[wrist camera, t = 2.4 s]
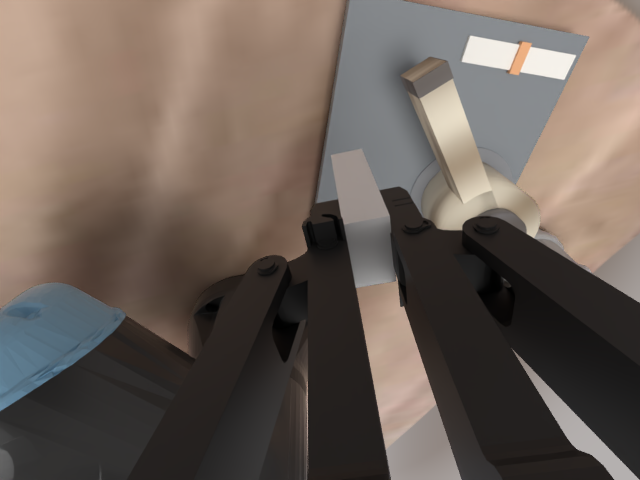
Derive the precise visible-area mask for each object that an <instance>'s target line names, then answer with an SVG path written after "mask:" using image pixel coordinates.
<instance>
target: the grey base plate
mask: <svg viewBox="0 0 640 480" xmlns="http://www.w3.org/2000/svg"><path fill="white" fill-rule="evenodd" d="M588 39H589V37H588V36H583V35H578V34H573V33H567V32H562V31H557V30H552V29H547V28H542V27H537V26H531V25H526V24H521V23H516V22H511V21H506V20H500V19H495V18H490V17H485V16H480V15H475V14H470V13H464V12H459V11H454V10H449V9H444V8H439V7H433V6H428V5H423V4H418V3H413V2H408V1H403V0H347V2H346V9H345V15H344V21H343V28H342V34H341V40H340V47H339V53H338V59H337V65H336V72H335V78H334V84H333V91H332V97H331V103H330V110H329V116H328V122H327V129H326V135H325V141H324V147H323V154H322V160H321V166H320V173H319V179H318V185H317V192H316V198H315V204H316V203H321V202H326V201H331V200H336V199H338V195H337V189H336V183H335V177H334V171H333V165H332V159H331V155H334V154H338V153H343V152H348V151H353V150H358V149H362V151H363V153H364V156H365V158H366V160H367V163H368V165H369V167H370V170H371V172H372V175H373V177H374V179H375V182H376V184H377V186H378V189H379V190H383V189H388V188H393V187H398V186H399V187H401V188H403V189H405V190H407V191H408V193H409V195H410V196H411V198H412V200H413V201H414V203H415V205H416V206H417V208H418V210H419V212H420V213H421V215H422V217H423V218H424V216H423V214H422V210H421V200H422V196H423V193H424V190H425V188H426V186H427V185H428V183H429V182H430V181H431V179H432V178H433V177H434V176H435V175H436V174H437V173H438V172H440V171H441V169H440V166H439V164H438V162H437V159H436V157H435V155H434V152H433V150H432V148H431V145H430V143H429V141H428V138H427V136H426V134H425V131H424V129H423V127H422V124H421V122H420V120H419V117H418V115H417V113H416V110H415V108H414V106H413V103H412V101H411V99H410V97H409V94H408V92H407V91H406V90H405V87H404V85H403V83H402V80H401V78H400V75H402V74H403V73H405V72H406V71H408V70H409V69H411V68H413V67H414V66H416V65H417V64H419V63H420V62H422V61H424V60H425V59H427V58H428V57H430V56H431V57H434V58H438V59H442V60H446V61H448V63H449V66H450V69H451V71H452V74H453V77H454V78H453V81H454V84H455V87H456V89H457V92H458V95H459V98H460V101H461V104H462V106H463V109H464V112H465V115H466V118H467V121H468V124H469V126H470V129H471V132H472V135H473V138H474V141H475V143H476V146H477V149H478V152H479V155H480V158H481V160H482V162H485V163H487V164H489V165H490V166H492V167H493V168H494V169H496V170H497V171H498V172H499V173H501V174H502V175H503V176H505V177H506V178H507V179H509V180H510V181H511V182H513V183H514V184H515V185H516V183H517V181H518V179H519V177H520V175H521V173H522V171H523V169H524V167H525V165H526V163H527V161H528V159H529V157H530V155H531V153H532V151H533V149H534V147H535V145H536V143H537V141H538V139H539V137H540V135H541V133H542V131H543V129H544V127H545V125H546V123H547V121H548V119H549V117H550V115H551V113H552V111H553V109H554V107H555V105H556V103H557V101H558V99H559V97H560V95H561V93H562V91H563V89H564V87H565V85H566V83H567V81H568V79H569V77H570V75H571V73H572V71H573V69H574V67H575V65H576V63H577V61H578V59H579V57H580V55H581V53H582V51H583V49H584V47H585V45H586V43H587V41H588ZM315 204H314V205H315Z"/></svg>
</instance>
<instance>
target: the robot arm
mask: <svg viewBox="0 0 640 480" xmlns="http://www.w3.org/2000/svg"><path fill="white" fill-rule="evenodd" d="M331 159H332V165H333V171H334V177H335V183H336V189H337V195H338V199H336V200H331V201H326V202H321V203H316V204H315V205H314V206H313V207H312V209H311V210H310V211H311V217H309V218H307V219H306V220H305V221H304V222H303V225H302V229H303V232H304V236H305V240H306V243H307V247H308V251H307V252H306V253H305V254H303V255H302V256H300V257H299V258H296V259H294V260H292V261H289V262H287V261H286V259H285V258H284V257H282V256H277V255H272V256H266V257H263V258H261V259H259V260H257V261H256V262H254V263H253V264H252V265H251V266H250V267H249V269H248V270H247V272H246V274H245V275H243V276H236V277H232V278H228V279H225V280H222V281H220V282H218V283H216V284H214V285H212V286H211V287H209V288H208V289H207V290H206V291H204V292H203V293H202V295H201V296H200V297H199V298H198V300H197V302H196V304H195V306H194V308H193V311H192V313H191V316H190V319H189V323H188V330H187V334H188V354H187V353H185V352H183V351H182V350H180V349H179V348H177V347H175V346H174V345H172V344H171V343H169V342H167V341H166V340H164V339H163V338H161V337H159V336H158V335H156V334H155V333H153V332H151V331H150V330H148V329H147V328H145V327H143V326H142V325H140V324H139V323H137V322H135V321H134V320H132V319H131V318H129V317H127V316H126V314H125V313H124V312H123V311H122V310H121V309H120V308H116V307H110V306H108V305H106V304H104V303H103V302H101V301H99V300H97V299H95V298H94V297H92V296H90V295H88V294H87V293H85V292H83V291H81V290H79V289H78V288H76V287H73V286H71V285H68V284H64V283H45V284H40V285H37V286H34V287H32V288H29V289H28V290H26V291H24V292H23V293H21V294H20V295H18V296H17V297H16V298H14V299H13V300H12V301H10V302H9V303H8V304H6V305H5V306H3V307H2V308H1V309H0V480H391V477H390V472H389V466H388V460H387V455H386V450H385V444H384V439H383V433H382V428H381V422H380V417H379V411H378V406H377V401H376V395H375V390H374V384H373V379H372V373H371V368H370V362H369V357H368V352H367V346H366V341H365V335H364V330H363V324H362V319H361V313H360V308H359V303H358V297H357V292H356V288H359V287H365V286H371V285H376V284H382V283H388V282H394V281H396V275H397V278H398V286H399V296H400V307H403V306H404V307H405V310H406V313H407V316H408V319H409V322H410V325H411V328H412V331H413V334H414V337H415V340H416V343H417V346H418V349H419V352H420V356H421V359H422V362H423V365H424V368H425V371H426V374H427V377H428V380H429V383H430V386H431V389H432V392H433V395H434V398H435V401H436V404H437V406H438V409H439V412H440V416H441V419H442V422H443V425H444V428H445V431H446V433H447V436H448V440H449V442H450V445H451V449H452V452H453V455H454V457H455V460H456V463H457V467H458V470H459V472H460V476H461V479H462V480H614V479H613V478H612V476H611V475H610V474H609V472H608V471H607V470H606V468H605V467H604V466H603V465H602V464H601V463H600V462H599V461H598V460H596V459H595V458H594V457H593V456H592V455H590V454H587V453H585V452H582V451H579V450H577V449H576V448H575V447H574V446H573V445H572V444H571V443H570V441H569V440H568V439H567V437H566V436H565V434H564V433H563V431H562V429H561V428H560V426H559V425H558V423H557V421H556V420H555V418H554V417H553V415H552V413H551V412H550V410H549V408H548V407H547V405H546V404H545V402H544V400H543V399H542V397H541V395H540V394H539V392H538V391H537V389H536V388H535V386H534V384H533V383H532V381H531V380H530V378H529V376H528V375H527V373H526V371H525V370H524V368H523V366H522V365H521V363H520V361H519V360H518V358H517V357H516V355H515V353H514V352H513V350H514V351H515V352H516V353H517V354H518V355H519V356H520V357H521V358H522V359H523V360H524V361H525V362H526V363H527V364H528V365H529V366H530V367H531V368H532V369H533V370H534V371H535V372H536V374H538V376H539V377H541V379H542V380H543V381H544V382H545V383H546V384H547V385H548V386H549V387H550V388H551V389H552V390H553V391H554V392H555V393H556V394H557V395H558V396H559V397H560V398H561V399H562V400H563V401H564V402H565V403H566V404H567V405H568V406H569V407H570V409H571V410H572V411H573V412H574V413H575V414H577V416H578V417H579V418H580V419H581V420H582V421H583V422H584V423H585V424H586V425H587V426H588V427H589V428H590V429H591V430H592V431H593V432H594V433H595V434H596V435H597V436H598V437H599V438H600V439H601V440H602V441H603V442H604V443H605V444H606V446H608V448H609V449H610V450H611V451H612V452H613V453H614V454H615V455H616V456H617V457H618V458H619V459H620V460H621V461H622V462H623V463H624V464H625V465H626V466H627V467H628V468H629V469H630V470H631V471H632V472H633V473H634V474H635V475H636V476H637V477H638V479H640V303H639V302H637V301H636V300H634V299H632V298H631V297H629V296H627V295H626V294H624V293H623V292H621V291H619V290H617V289H616V288H614V287H613V286H611V285H609V284H608V283H606V282H604V281H603V280H601V279H600V278H598V277H596V276H595V275H593V274H592V273H590V272H588V271H587V270H585V269H583V268H582V267H580V266H578V265H577V264H575V263H574V262H572V261H570V260H569V259H567V258H565V257H564V256H562V255H560V254H559V253H557V252H556V251H554V250H552V249H551V248H549V247H547V246H546V245H544V244H543V243H541V242H539V241H538V240H536V239H534V238H533V237H531V236H529V235H528V234H526V233H525V232H523V231H521V230H520V229H518V228H516V227H515V226H513V225H512V224H510V223H508V222H507V221H505V220H502V219H500V218H498V217H492V216H478V217H473V218H470V219H468V220H466V221H465V222H464V224H463V225H462V230H442V229H437V227H436V226H435V224H434V223H433V222H432V221H431V220H429V219H426V218H423V217H422V215H421V213H420V212H419V210H418V208H417V206H416V205H415V203H414V201H413V200H412V198H411V196H410V195H409V193H408V191H407V190H405V189H403V188H401V187H399V186H398V187H393V188H388V189H383V190H379V189H378V186H377V184H376V182H375V179H374V177H373V175H372V172H371V170H370V167H369V165H368V163H367V160H366V158H365V156H364V153H363V151H362V149H358V150H353V151H348V152H343V153H338V154H334V155H331ZM395 272H396V274H395ZM511 348H512V349H513V350H512V349H511ZM307 380H308V455H307V401H306V384H307Z"/></svg>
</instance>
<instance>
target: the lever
mask: <svg viewBox="0 0 640 480" xmlns="http://www.w3.org/2000/svg"><path fill="white" fill-rule="evenodd" d="M400 78H401V80H402V83H403V85H404V87H405V90H406V91H407V92H408V94H409V97H410V99H411V101H412V103H413V106H414V108H415V110H416V113H417V115H418V117H419V120H420V122H421V124H422V127H423V129H424V131H425V134H426V136H427V138H428V141H429V143H430V145H431V148H432V150H433V152H434V155H435V157H436V159H437V162H438V164H439V166H440V169H441V171H440V172H438V173H437V174H436V175H435V176H434V177H433V178H432V179H431V181H430V182H429V183H428V185H427V186H426V188H425V190H424V193H423V196H422V200H421V210H422V214H423V216H424V218H426V219H429V220H431V221H432V222H433V223H434V224H435V226H436V227H437V229H442V230H462V225H463V224H464V222H465V221H466V220H468V219H470V218H473V217H478V216H492V217H498V218H500V219H502V220H505V221H507V222H508V223H510V224H512V225H513V226H515V227H516V228H518V229H520V230H521V231H523V232H525V233H526V234H528V235H529V236H531V237H533V238H534V237H535V236H536V234H537V231H538V229H539V225H540V210H539V207H538V205H537V203H536V201H535V200H534V199H533V198H532V197H531V196H530V195H528V194H527V193H526V192H524V191H523V190H522V189H520V188H519V187H518V186H516V185H515V184H514V183H513V182H511V181H510V180H509V179H507V178H506V177H505V176H503V175H502V174H501V173H499V172H498V171H497V170H496V169H494V168H493V167H492V166H490V165H489V164H487V163H485V162H482V160H481V158H480V155H479V152H478V149H477V146H476V143H475V141H474V138H473V135H472V132H471V129H470V126H469V124H468V121H467V118H466V115H465V112H464V109H463V106H462V104H461V101H460V98H459V95H458V92H457V89H456V87H455V84H454V81H453V78H454V77H453V74H452V71H451V69H450V66H449V63H448V61H446V60H442V59H438V58H434V57H431V56H430V57H428V58H427V59H425V60H424V61H422V62H420V63H419V64H417V65H416V66H414V67H413V68H411V69H409V70H408V71H406V72H405V73H403V74H402V75H400Z"/></svg>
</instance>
